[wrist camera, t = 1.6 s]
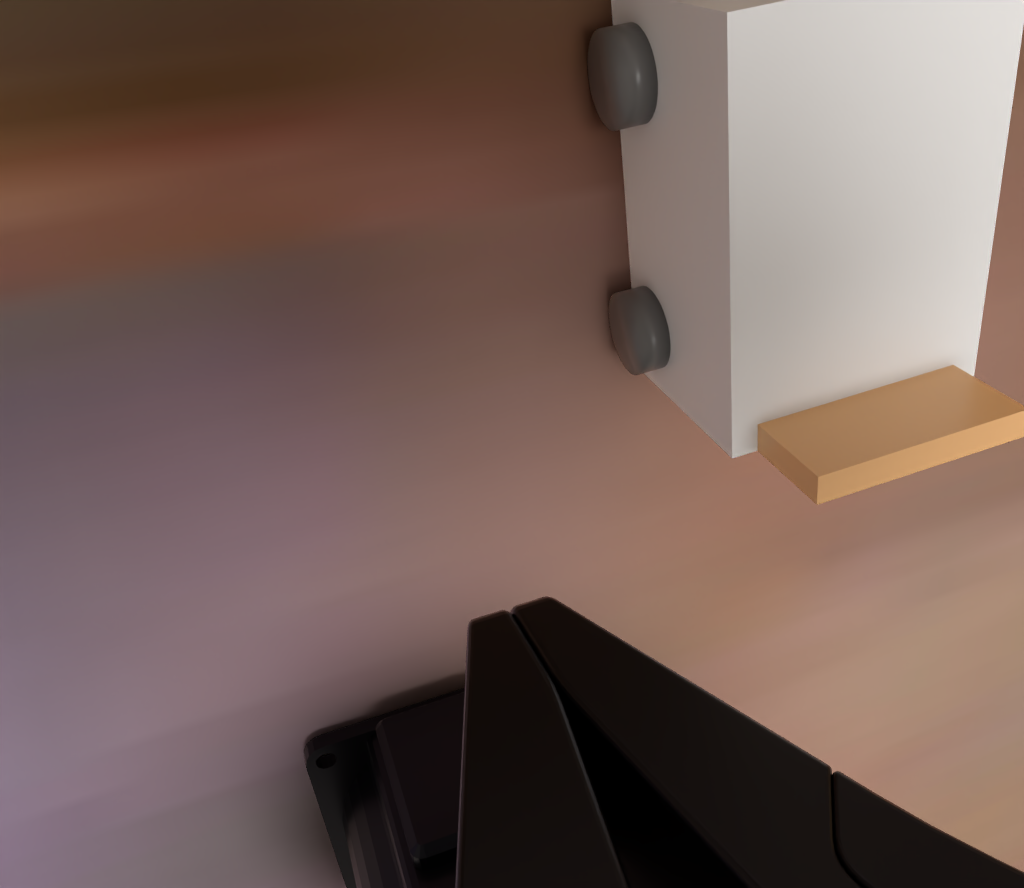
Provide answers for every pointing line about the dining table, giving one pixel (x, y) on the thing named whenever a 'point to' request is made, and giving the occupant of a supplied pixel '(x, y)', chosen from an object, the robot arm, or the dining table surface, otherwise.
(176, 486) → the dining table surface
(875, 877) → the robot arm
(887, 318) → the trolley
